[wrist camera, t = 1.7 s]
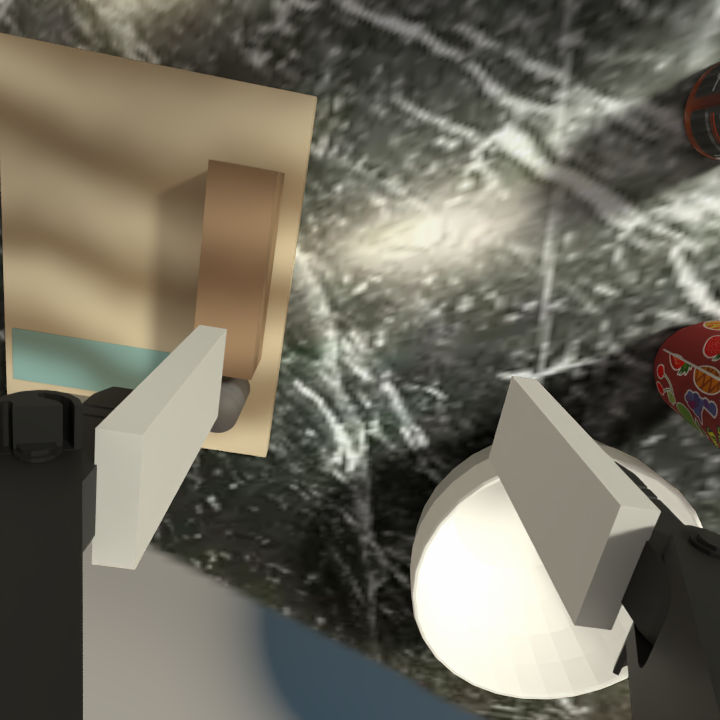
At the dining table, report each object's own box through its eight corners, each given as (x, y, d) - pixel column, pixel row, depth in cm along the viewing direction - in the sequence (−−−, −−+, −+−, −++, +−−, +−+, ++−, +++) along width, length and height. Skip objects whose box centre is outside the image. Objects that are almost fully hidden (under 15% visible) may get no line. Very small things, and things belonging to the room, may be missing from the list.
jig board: (9, 37, 31) (-61, 7, 26) (317, 99, 32) (311, 83, 27) (18, 412, 38) (-35, 449, 33) (267, 449, 40) (255, 490, 35)
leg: (260, 359, 36) (250, 380, 32) (206, 350, 36) (190, 370, 32) (284, 173, 32) (276, 172, 28) (225, 161, 32) (208, 159, 28)
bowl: (423, 623, 46) (440, 722, 37) (375, 428, 40) (383, 494, 31) (644, 579, 45) (712, 670, 36) (630, 373, 39) (708, 426, 30)
